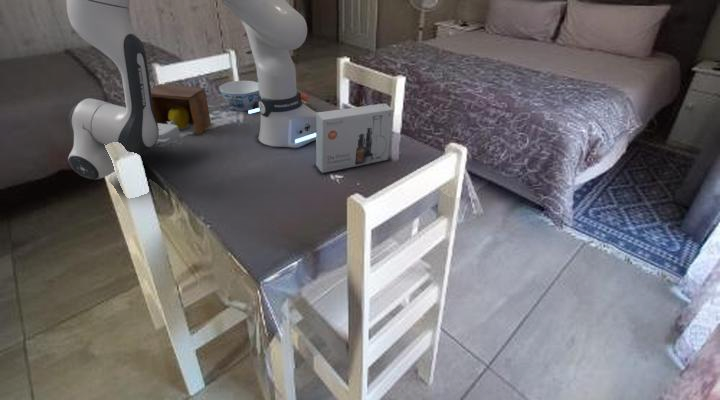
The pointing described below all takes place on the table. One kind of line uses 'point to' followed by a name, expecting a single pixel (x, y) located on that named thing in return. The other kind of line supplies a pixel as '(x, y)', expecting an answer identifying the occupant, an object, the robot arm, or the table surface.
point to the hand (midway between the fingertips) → (157, 121)
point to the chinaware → (240, 94)
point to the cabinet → (181, 104)
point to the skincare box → (353, 136)
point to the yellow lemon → (179, 116)
